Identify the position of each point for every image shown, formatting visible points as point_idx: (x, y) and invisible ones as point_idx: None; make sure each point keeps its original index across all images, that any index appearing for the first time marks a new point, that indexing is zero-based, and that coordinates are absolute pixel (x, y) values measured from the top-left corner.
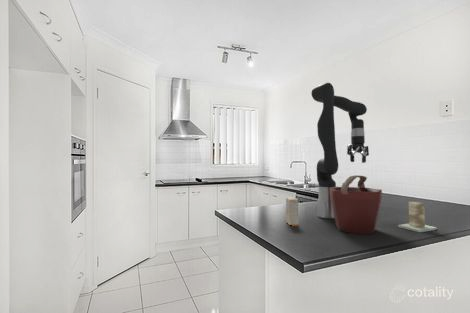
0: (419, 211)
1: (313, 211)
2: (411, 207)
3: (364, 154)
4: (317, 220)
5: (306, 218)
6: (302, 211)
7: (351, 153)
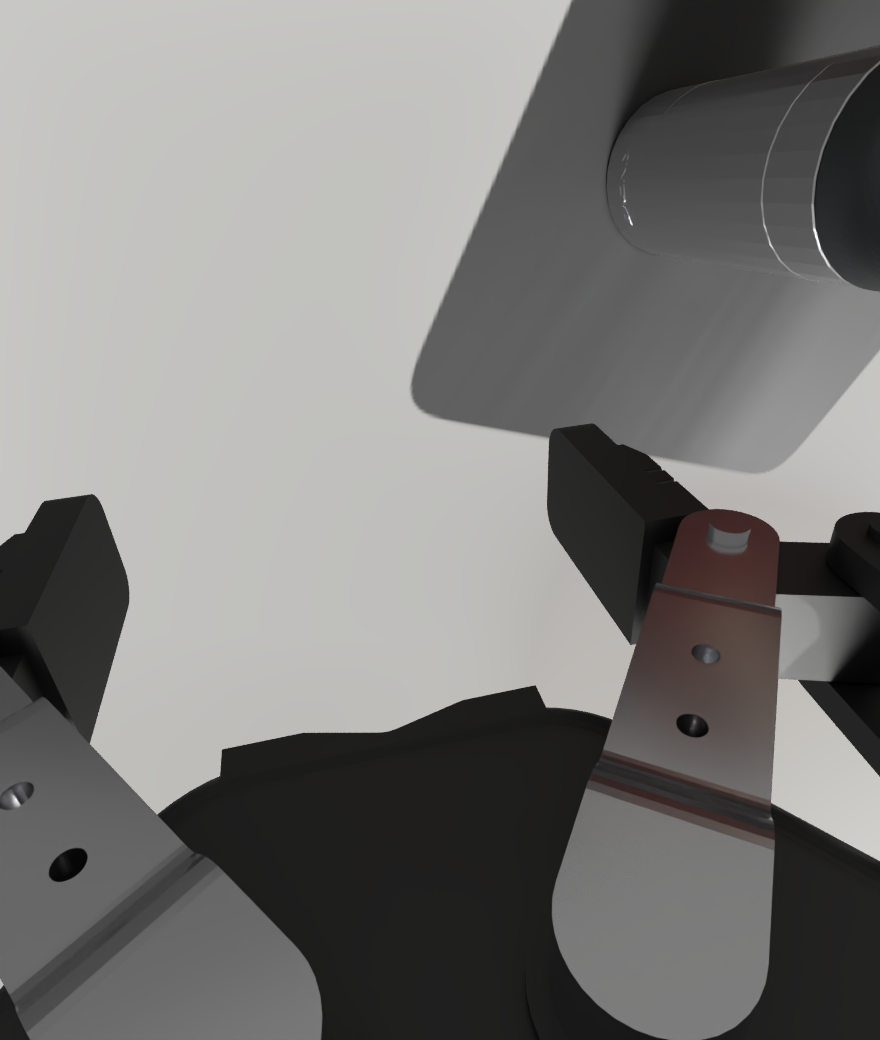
0: None
1: (631, 423)
2: None
3: (3, 693)
4: None
5: None
6: (707, 438)
7: (851, 542)
